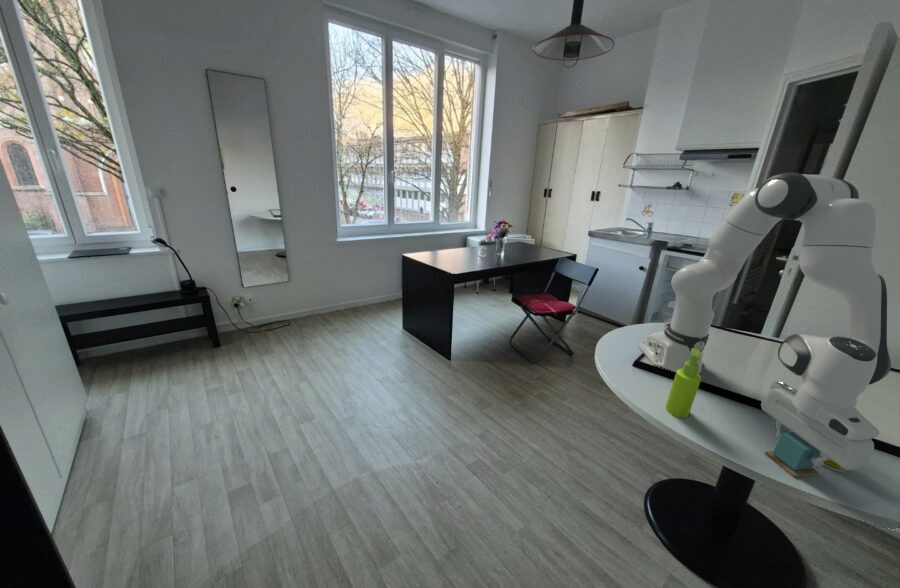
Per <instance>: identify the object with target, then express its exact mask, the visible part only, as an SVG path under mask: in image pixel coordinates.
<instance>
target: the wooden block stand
mask: <svg viewBox="0 0 900 588" xmlns="http://www.w3.org/2000/svg"><path fill="white" fill-rule="evenodd" d="M773 451H774V450H770V451H769V450H767V451H765V452H764V454H765V455H766V457H768V458H769V459H771V461H773V462H774V463H775V464H776V465H778V466H779V467H780V468H781V469H782V470H784V472H786V473H787V474H788V475H790V476H791V477H792V478H796V477H805V476H812V475H813V476H815V475H819V474H820V471H819V470H817V469H816V468H814V467H813V468H810V469H802V470H793V469H792V468H790V467H789V466H788V465H787V464H785V463H784V462H783V461H782V460H781V459H779V458H778V457H777V456H776V455H774V454H773Z"/></svg>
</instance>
